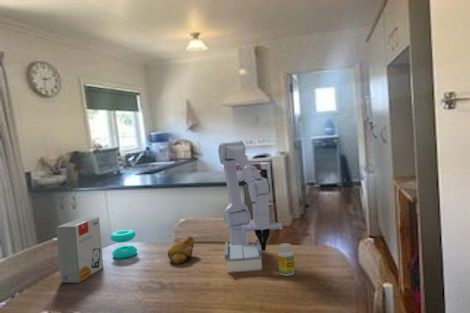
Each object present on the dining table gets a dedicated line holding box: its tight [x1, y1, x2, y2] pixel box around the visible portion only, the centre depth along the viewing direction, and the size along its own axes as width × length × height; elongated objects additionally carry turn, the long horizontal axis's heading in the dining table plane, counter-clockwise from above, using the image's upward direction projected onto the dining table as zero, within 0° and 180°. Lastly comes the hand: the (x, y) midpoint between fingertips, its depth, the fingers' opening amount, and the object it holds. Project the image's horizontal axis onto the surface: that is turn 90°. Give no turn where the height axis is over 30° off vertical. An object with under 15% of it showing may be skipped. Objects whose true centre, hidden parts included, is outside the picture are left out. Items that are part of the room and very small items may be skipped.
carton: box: [225, 248, 263, 274], centre depth 135 cm, size 14×12×4 cm
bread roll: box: [166, 236, 195, 264], centre depth 145 cm, size 13×10×8 cm
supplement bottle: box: [277, 242, 296, 277], centre depth 124 cm, size 5×5×10 cm
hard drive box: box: [55, 216, 104, 284], centre depth 136 cm, size 16×8×20 cm, turn 168°
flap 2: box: [242, 239, 263, 260], centre depth 135 cm, size 15×6×2 cm, turn 1°
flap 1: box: [224, 241, 243, 262], centre depth 135 cm, size 15×6×2 cm, turn 1°
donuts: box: [110, 229, 138, 260], centre depth 155 cm, size 10×10×10 cm
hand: (263, 249), depth 135 cm, fingers closed
